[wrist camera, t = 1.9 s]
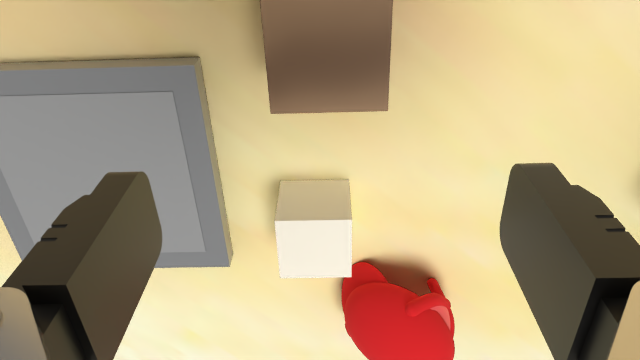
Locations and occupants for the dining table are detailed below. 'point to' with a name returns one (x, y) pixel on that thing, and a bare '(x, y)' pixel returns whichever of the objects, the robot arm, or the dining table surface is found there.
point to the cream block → (314, 229)
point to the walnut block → (327, 55)
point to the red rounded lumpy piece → (396, 318)
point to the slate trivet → (112, 148)
